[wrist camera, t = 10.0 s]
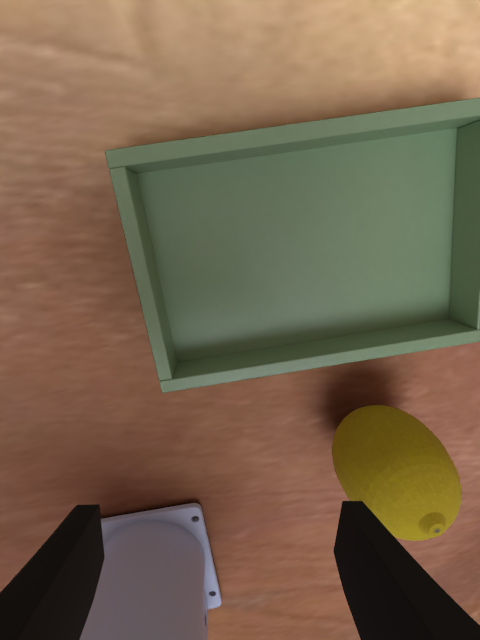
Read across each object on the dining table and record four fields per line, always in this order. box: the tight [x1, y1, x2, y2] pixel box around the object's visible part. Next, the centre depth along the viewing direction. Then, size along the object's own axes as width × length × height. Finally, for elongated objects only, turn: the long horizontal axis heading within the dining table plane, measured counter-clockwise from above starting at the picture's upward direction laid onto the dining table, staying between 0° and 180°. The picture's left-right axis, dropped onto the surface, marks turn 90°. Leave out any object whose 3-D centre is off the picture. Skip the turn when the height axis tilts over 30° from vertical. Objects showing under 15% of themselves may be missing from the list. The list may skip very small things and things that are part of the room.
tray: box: [105, 98, 480, 393], centre depth 17 cm, size 11×17×3 cm, turn 98°
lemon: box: [332, 405, 462, 540], centre depth 17 cm, size 6×6×8 cm
